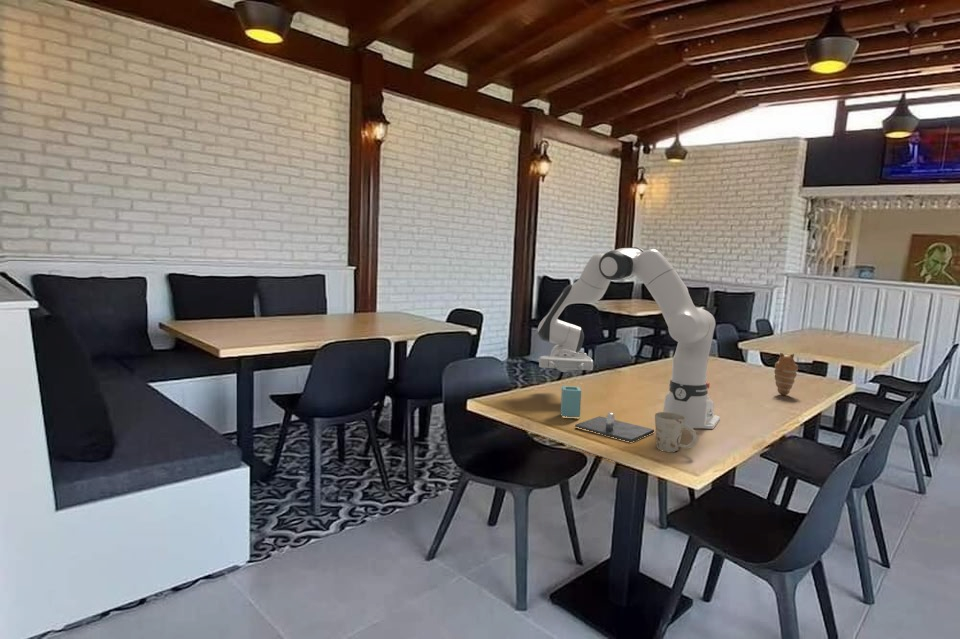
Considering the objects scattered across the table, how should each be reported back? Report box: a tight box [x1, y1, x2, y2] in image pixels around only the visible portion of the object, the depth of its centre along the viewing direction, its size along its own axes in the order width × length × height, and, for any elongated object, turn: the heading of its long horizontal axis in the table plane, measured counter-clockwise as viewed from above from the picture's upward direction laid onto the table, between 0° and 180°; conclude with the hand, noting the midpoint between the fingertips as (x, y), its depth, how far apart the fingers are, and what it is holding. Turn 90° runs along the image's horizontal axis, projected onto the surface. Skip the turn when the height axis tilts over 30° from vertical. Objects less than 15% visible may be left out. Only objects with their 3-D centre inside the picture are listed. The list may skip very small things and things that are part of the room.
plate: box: [574, 412, 655, 443], centre depth 187 cm, size 15×20×6 cm
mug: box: [654, 411, 698, 453], centre depth 169 cm, size 8×13×10 cm, turn 51°
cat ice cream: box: [774, 352, 799, 396], centre depth 245 cm, size 9×8×18 cm
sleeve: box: [560, 385, 582, 418], centre depth 202 cm, size 6×6×10 cm
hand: (567, 367), depth 213 cm, fingers open, 8 cm apart
